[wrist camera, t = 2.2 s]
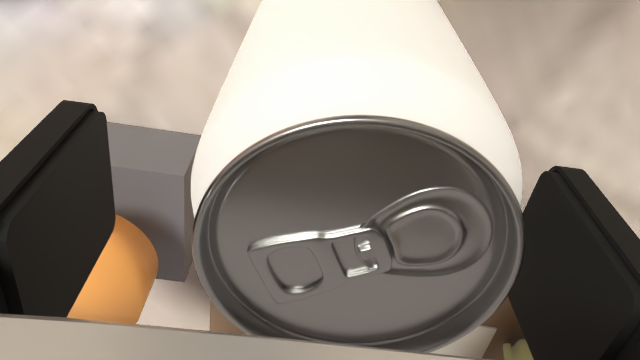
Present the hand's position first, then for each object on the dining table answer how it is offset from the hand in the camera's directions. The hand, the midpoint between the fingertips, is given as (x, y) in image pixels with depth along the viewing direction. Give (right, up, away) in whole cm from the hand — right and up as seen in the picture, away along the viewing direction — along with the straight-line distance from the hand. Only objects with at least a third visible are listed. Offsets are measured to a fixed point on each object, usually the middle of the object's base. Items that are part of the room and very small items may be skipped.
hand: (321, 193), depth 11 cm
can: (+1, +6, +8) cm, 10 cm away
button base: (-8, 0, +11) cm, 14 cm away
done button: (-8, -2, +8) cm, 12 cm away
